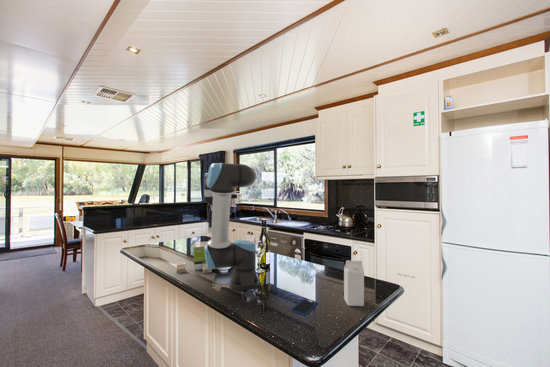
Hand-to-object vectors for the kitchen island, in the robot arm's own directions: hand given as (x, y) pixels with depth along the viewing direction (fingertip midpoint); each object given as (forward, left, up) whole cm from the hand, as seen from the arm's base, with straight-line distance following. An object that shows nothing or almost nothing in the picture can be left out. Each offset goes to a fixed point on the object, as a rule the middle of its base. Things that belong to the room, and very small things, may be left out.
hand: (209, 232), depth 168 cm
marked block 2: (-8, +3, -23) cm, 24 cm away
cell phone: (-72, -31, -23) cm, 82 cm away
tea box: (+4, +5, -23) cm, 24 cm away
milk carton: (-76, -54, -23) cm, 96 cm away
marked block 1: (-2, +18, -23) cm, 29 cm away
